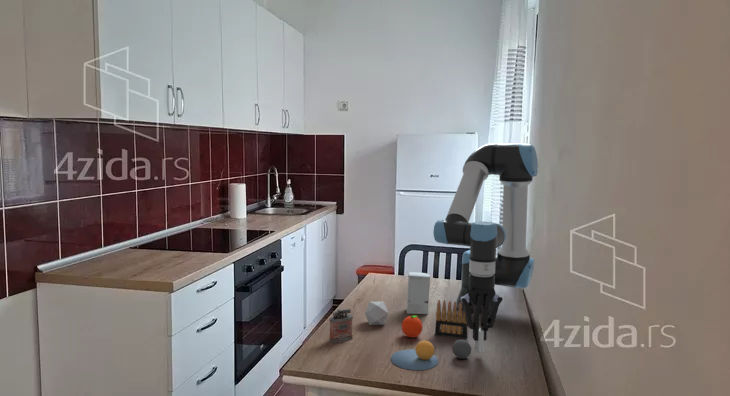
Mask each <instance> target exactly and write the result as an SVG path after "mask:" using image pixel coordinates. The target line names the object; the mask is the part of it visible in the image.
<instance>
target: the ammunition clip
mask: <svg viewBox="0 0 730 396" xmlns="http://www.w3.org/2000/svg"><path fill="white" fill-rule="evenodd" d="M447 304H448V305H447ZM447 304H446V300H445V299H444V300H443V301H442V305H441V300H440V299H438V301H437V304H436V305H437V306H436V313H435V326H434V327H435V330H434V335H435V336H442V337H449V338H458V339H464V340H465V339H468V326H467V323H466V318H465V313H464V311H462V304H461V302H460V303H459V307H458V308H457V305H456V301H454V302H453V306H452V302H451V300H449V301H448V303H447ZM457 309H458V310H457Z"/></svg>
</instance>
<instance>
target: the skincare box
mask: <svg viewBox="0 0 730 396" xmlns="http://www.w3.org/2000/svg"><path fill="white" fill-rule="evenodd" d="M407 273H408V276H407V277H408V279H407V298H406V314H409V315H410V314H413V315H414V314H417V315H428V314H429V303H430V301H429V300H430V288H431V287H430V286H431V276H430V273H427V272H417V271H416V272H415V271H412V272H410V271H408V272H407Z"/></svg>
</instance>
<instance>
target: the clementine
mask: <svg viewBox="0 0 730 396" xmlns="http://www.w3.org/2000/svg"><path fill="white" fill-rule="evenodd" d="M420 318H421V317H420V316H418V315H409V316H407V317H405V318H404V319H403V320H402V323H401V331H402V333H403V334H404V335H405V336H406V337H408V338H416V337H418V336H420V334H421V333H422V331H423V322H422V320H421V319H420Z"/></svg>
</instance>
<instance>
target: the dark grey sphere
mask: <svg viewBox="0 0 730 396" xmlns="http://www.w3.org/2000/svg"><path fill="white" fill-rule="evenodd" d="M452 352H453V354H454V356H455V357H456V358H458V359H461V360H463V359H467V358H468V357H470V355H471V353H472V347H471V345H470V343H469V342H468V341H467V340H465V339H458V340H456V341H454V343H453V344H452Z"/></svg>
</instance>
